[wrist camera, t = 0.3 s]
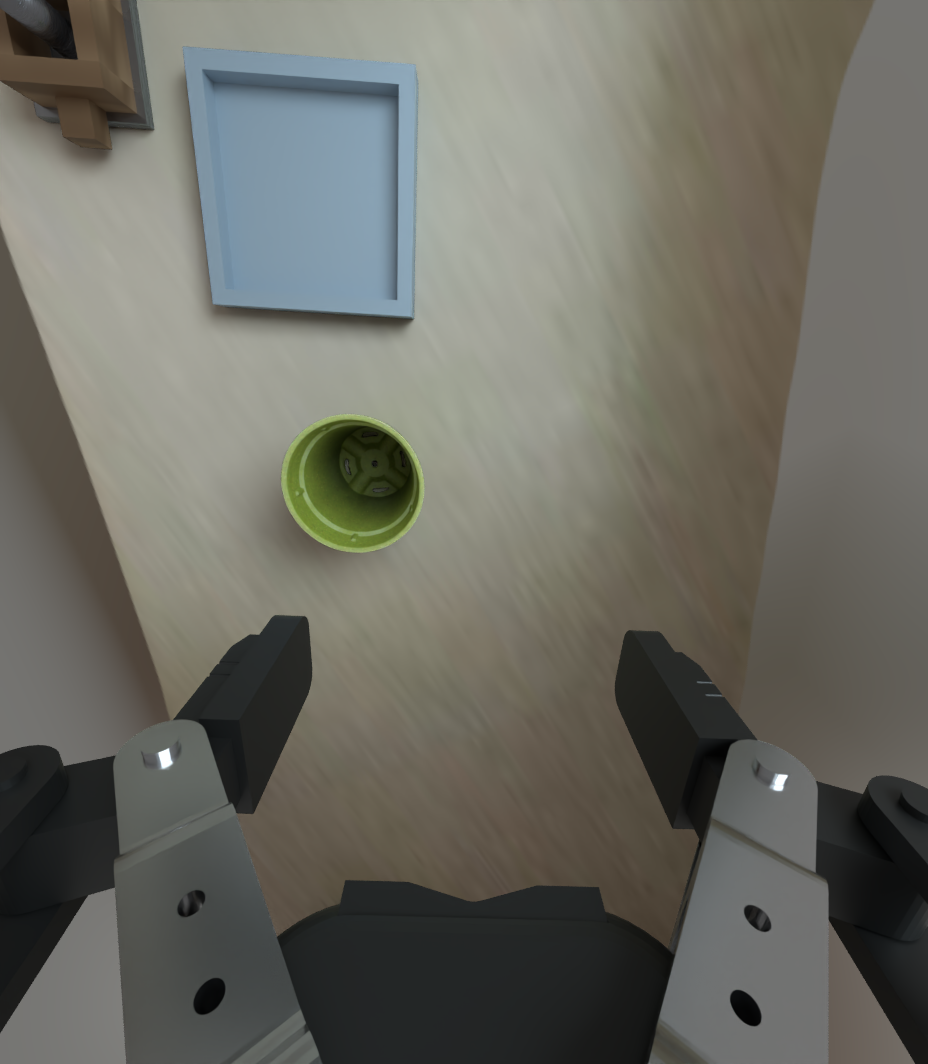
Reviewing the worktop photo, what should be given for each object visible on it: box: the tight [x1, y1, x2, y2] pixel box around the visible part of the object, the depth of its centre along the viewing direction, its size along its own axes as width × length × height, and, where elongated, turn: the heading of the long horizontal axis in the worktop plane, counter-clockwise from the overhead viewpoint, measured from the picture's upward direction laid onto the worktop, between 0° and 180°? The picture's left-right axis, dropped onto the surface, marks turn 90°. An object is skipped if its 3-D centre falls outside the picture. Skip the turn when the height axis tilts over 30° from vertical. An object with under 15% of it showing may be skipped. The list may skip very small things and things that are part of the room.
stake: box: [0, 0, 154, 130], centre depth 27 cm, size 7×7×6 cm
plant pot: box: [281, 414, 424, 553], centre depth 35 cm, size 9×9×9 cm
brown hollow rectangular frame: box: [0, 0, 137, 149], centre depth 28 cm, size 8×6×3 cm
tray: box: [183, 46, 418, 319], centre depth 31 cm, size 14×14×2 cm
